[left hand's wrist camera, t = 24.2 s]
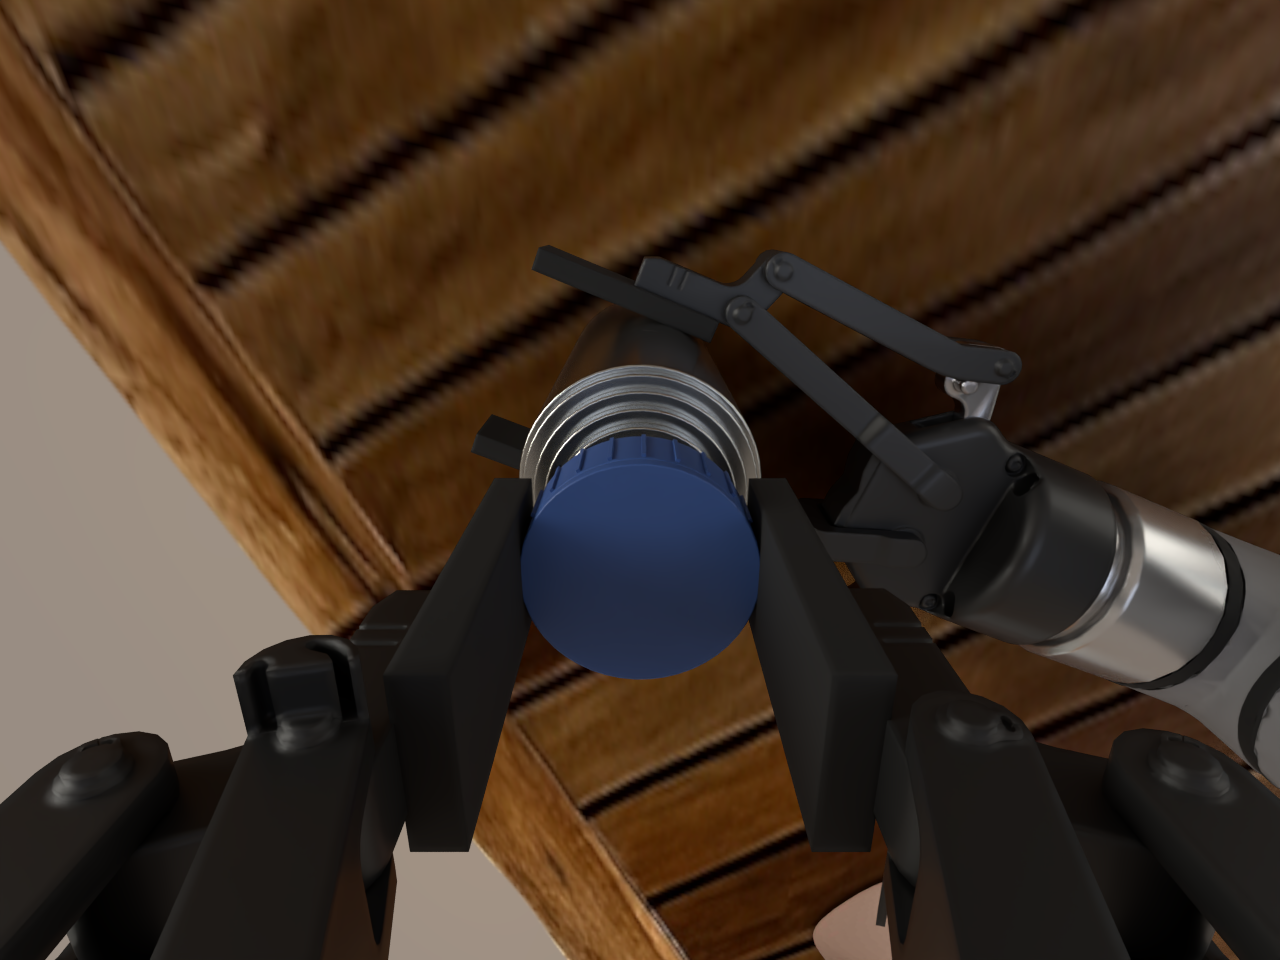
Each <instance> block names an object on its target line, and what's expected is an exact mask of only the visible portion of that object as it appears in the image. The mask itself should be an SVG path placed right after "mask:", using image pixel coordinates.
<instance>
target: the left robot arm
mask: <svg viewBox="0 0 1280 960" xmlns="http://www.w3.org/2000/svg"><path fill="white" fill-rule="evenodd" d="M747 507H748V510H749V512H750V515H751V518H752V520H753V522H752V523H750V524H751V526H752V529H753V532H754V535H755V537H756V540H757V543H758V547H759V551H760V568H759V583H758V596H757V602H756V605H755V607H754V610H753V612H752V614H751V616H750V618H749V623H750V627H751V630H752V634H753V638H754V641H755V645H756V649H757V652H758V656H759V660H760V663H761V667H762V671H763V674H764V678H765V682H766V685H767V689H768V693H769V696H770V700H771V704H772V707H773V711H774V715H775V718H776V722H777V726H778V729H779V733H780V737H781V740H782V744H783V748H784V751H785V755H786V759H787V762H788V766H789V770H790V773H791V777H792V781H793V784H794V788H795V792H796V796H797V799H798V803H799V807H800V810H801V814H802V818H803V821H804V825H805V829H806V832H807V836H808V840H809V843H810V847H811V851H812V852H870V851H871V844H872V838H873V832H874V825H875V819H876V820H877V823H878V825H879V828H880V830H881V833H882V835H883V838H884V840H885V843H886V845H887V848H888V851H887V857H886V863H885V869H884V875H883V881H882V887H881V893H880V899H879V905H878V911H877V919H876V925H877V926H882V927H885V924H886V918H887V919H888V928H889V937H890V945H891V954H892V960H1229V959H1228V958H1227V957H1226V956H1225V955H1224V954H1223V953H1222V952H1221V950H1220V949H1219V948H1218V947H1217V946H1216V944H1215V943H1214V942H1213V941H1212V937H1213V935H1214V932H1215V930H1216V932H1217V933H1218V934H1219V935H1220V936H1221V938H1222V939H1223V940H1224V941H1225V942H1226V944H1227V945H1228V946H1229V947H1230V948H1231V950H1232V951H1233V952H1234V953H1235V955H1236V956H1237V957H1238V958H1239V959H1240V960H1280V799H1279V798H1278V797H1277V796H1276V795H1274V794H1273V793H1272V792H1271V791H1270V790H1269V789H1268V788H1266V787H1265V786H1264V785H1263V784H1262V783H1261V782H1260V781H1259V780H1257V779H1256V778H1255V777H1254V776H1253V775H1252V774H1251V773H1250V772H1248V771H1247V770H1246V769H1245V768H1243V767H1242V766H1240V765H1239V764H1238V763H1236V762H1235V761H1233V760H1232V759H1231V758H1229V757H1228V756H1226V755H1225V754H1224V753H1222V752H1220V751H1218V750H1216V749H1213V748H1211V747H1209V746H1207V745H1205V744H1203V743H1201V742H1200V741H1198V740H1195V739H1192V738H1190V737H1187V736H1182V735H1180V734H1176V733H1172V732H1169V731H1161V730H1153V729H1144V728H1142V729H1136V730H1131V731H1125V732H1123V733H1122V734H1121V735H1120V736H1118V737H1117V738H1116V739H1115V740H1114V742H1113V745H1112V748H1111V752H1110V755H1109V758H1108V759H1107V758H1102V757H1098V756H1093V755H1088V754H1084V753H1079V752H1074V751H1070V750H1065V749H1060V748H1056V747H1052V746H1049V745H1045V744H1042V743H1038V742H1035V740H1034V738H1033V735H1032V734H1031V732H1030V731H1029V730H1028V728H1027V727H1026V725H1025V724H1024V723H1023V721H1022V720H1021V719H1020V718H1018V717H1017V716H1016V715H1014V714H1013V713H1012V712H1010V711H1009V710H1008V709H1006V708H1005V707H1004V706H1002V705H999V704H997V703H995V702H993V701H991V700H989V699H986V698H984V697H982V696H978V695H974V694H970V692H969V691H968V689H967V688H966V686H965V685H964V684H963V682H962V681H961V679H960V678H959V676H958V675H957V674H956V672H955V671H954V669H953V668H952V666H951V665H950V664H949V662H948V661H947V659H946V658H945V657H944V655H943V654H942V652H941V651H940V649H939V648H938V647H937V645H936V644H935V643H933V642H932V638H931V637H930V635H929V634H928V632H927V631H926V629H925V628H924V627H921V622H920V621H919V619H918V618H917V617H916V615H915V614H914V612H913V611H912V609H911V608H910V607H909V605H908V604H907V603H905V602H904V601H902V600H901V599H899V598H898V597H896V596H895V595H893V594H892V593H890V592H889V591H887V590H886V589H884V588H848V587H847V585H846V583H845V582H844V580H843V578H842V576H841V575H840V573H839V571H838V569H837V567H836V566H835V564H834V562H833V560H832V559H831V557H830V555H829V553H828V552H827V550H826V548H825V546H824V545H823V543H822V541H821V539H820V538H819V536H818V534H817V532H816V531H815V529H814V527H813V525H812V524H811V522H810V520H809V518H808V517H807V515H806V513H805V511H804V509H803V508H802V506H801V504H800V502H799V501H798V499H797V497H796V495H795V494H794V492H793V490H792V488H791V487H790V485H789V483H788V481H787V480H786V478H749V483H748V500H747ZM532 510H533V492H532V478H495V479H494V480H493V482H492V484H491V486H490V487H489V489H488V491H487V493H486V494H485V496H484V498H483V500H482V502H481V503H480V505H479V507H478V509H477V510H476V512H475V514H474V516H473V517H472V519H471V521H470V523H469V524H468V526H467V528H466V530H465V531H464V533H463V535H462V537H461V538H460V540H459V542H458V544H457V545H456V547H455V549H454V551H453V553H452V554H451V556H450V558H449V560H448V561H447V563H446V565H445V567H444V568H443V570H442V572H441V574H440V575H439V577H438V579H437V581H436V582H435V584H434V586H433V588H432V589H431V590H397V591H395V592H394V593H392V594H391V595H389V596H388V597H386V598H385V599H383V600H382V601H380V602H379V603H378V604H376V605H375V606H373V607H372V609H371V610H370V612H369V613H368V614H367V616H366V617H365V619H364V620H363V622H362V623H361V624H360V629H357V630H356V632H355V633H354V635H353V636H352V637H351V639H350V640H349V639H345V638H342V637H338V636H334V635H309V636H304V637H300V638H295V639H290V640H286V641H283V642H281V643H278V644H276V645H273V646H271V647H268V648H266V649H263V650H262V651H260V652H259V653H257V654H256V655H254V656H253V657H251V658H249V659H248V660H247V661H245V662H244V663H243V664H242V665H241V667H240V668H239V669H238V670H237V671H236V672H235V674H234V675H233V678H234V682H235V686H236V690H237V694H238V698H239V702H240V706H241V710H242V714H243V718H244V722H245V726H246V730H247V734H248V736H247V739H246V741H245V743H244V745H243V746H239V747H235V748H232V749H228V750H225V751H220V752H215V753H211V754H206V755H202V756H197V757H192V758H188V759H183V760H178V761H174V762H173V760H172V756H171V753H170V750H169V747H168V744H167V743H166V742H165V741H164V740H163V739H162V738H161V737H160V736H158V735H156V734H151V733H145V732H139V731H138V732H129V733H120V734H113V735H110V736H106V737H102V738H100V739H95V740H92V741H90V742H87V743H84V744H82V745H81V746H79V747H77V748H75V749H73V750H70V751H69V752H66V753H64V754H62V755H60V756H58V757H57V758H56V759H54V760H53V761H51V762H50V763H49V764H47V765H46V766H44V767H43V768H42V769H40V770H39V771H38V772H36V773H35V774H34V775H33V776H31V777H30V778H29V779H28V780H27V781H26V782H25V783H24V784H22V785H21V786H20V787H19V788H18V789H17V790H16V791H15V792H14V793H12V794H11V795H10V796H9V797H8V798H7V799H6V800H5V801H3V802H2V803H1V804H0V960H45V959H46V958H47V957H48V956H49V954H50V953H51V952H52V951H53V950H54V948H55V947H56V946H57V945H58V944H59V942H60V941H61V940H62V939H63V937H64V936H65V935H66V934H67V936H68V938H69V941H70V943H69V944H68V945H67V947H66V948H65V949H64V950H63V952H62V953H61V954H60V955H59V957H58V958H56V959H55V960H388V956H389V947H390V938H391V929H392V920H393V912H394V903H395V894H396V885H397V878H396V870H395V863H394V857H393V850H394V848H395V845H396V842H397V840H398V837H399V835H400V832H401V830H402V827H403V825H404V822H406V829H407V835H408V841H409V848H410V852H469V849H470V845H471V841H472V838H473V834H474V830H475V827H476V823H477V819H478V816H479V812H480V808H481V805H482V801H483V797H484V794H485V790H486V786H487V782H488V779H489V775H490V771H491V768H492V764H493V760H494V757H495V753H496V749H497V746H498V742H499V738H500V735H501V731H502V727H503V724H504V720H505V716H506V713H507V709H508V705H509V702H510V698H511V694H512V691H513V687H514V683H515V680H516V676H517V672H518V669H519V665H520V661H521V658H522V654H523V650H524V647H525V643H526V639H527V636H528V632H529V628H530V625H531V621H532V618H531V617H530V615H529V613H528V611H527V608H526V605H525V603H524V600H523V591H522V576H521V560H520V555H521V550H522V546H523V541H524V538H525V536H526V533H527V530H528V527H529V525H530V522H531V519H532V517H531V513H532Z"/></svg>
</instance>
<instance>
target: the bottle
mask: <svg viewBox="0 0 1280 960" xmlns="http://www.w3.org/2000/svg"><path fill="white" fill-rule="evenodd" d="M642 434H646V436H648V437H656V438H663V439H667V440H671V441H673V439H676V440H677V441H678V443H681V444H683V445H686V446H688V447H691V448H692V449H694V450H696V451H698V452H700V453H701V452H702V451H703V452H704V453H706V457H707V458H709V459H710V460H711V461H713V462H714V463H715V464H716V465H717V466H718V467H719V468H720V469H721V470H722V471H723V472H725V471H727V472H728V474H729V476H730V479H731V482H732V483H733V485H734V486H735V488H736V490H737V491H738V493H739V495H743V497H744V499H745V502H746V504H747V500H748V483H749V478H761V465H760V457H759V453H758V449H757V445H756V442H755V440H754V437H753V435H752V432H751V430H750V428H749V426H748V424H747V423H746V421H745V419H744V417H743V415H742V413H741V411H740V409H739V408H738V406H737V404H736V402H735V400H734V398H733V396H732V394H731V393H730V391H729V389H728V387H727V385H726V383H725V381H724V379H723V378H722V376H721V374H720V372H719V370H718V368H717V366H716V364H715V363H714V361H713V359H712V357H711V355H710V353H709V351H708V350H707V348H706V346H705V344H704V342H703V340H701V339H699V338H697V337H694V336H692V335H689V334H687V333H684V332H682V331H680V330H677V329H675V328H672V327H670V326H667V325H665V324H663V323H660V322H658V321H655V320H653V319H650V318H648V317H646V316H643V315H641V314H638V313H636V312H633V311H631V310H629V309H626V308H624V307H621V306H619V305H616V304H614V305H612V306H609V307H607V308H606V309H604V310H603V311H601V312H600V313H599V314H597V315H596V316H595V317H594V318H593V319H592V320H591V321H590V322H589V323H588V324H587V326H586V327H585V329H584V330H583V332H582V333H581V335H580V337H579V339H578V341H577V343H576V345H575V347H574V349H573V350H572V352H571V354H570V356H569V358H568V360H567V362H566V364H565V365H564V367H563V369H562V371H561V373H560V375H559V377H558V379H557V380H556V382H555V384H554V386H553V388H552V390H551V392H550V394H549V396H548V397H547V399H546V401H545V403H544V405H543V407H542V409H541V411H540V412H539V414H538V416H537V418H536V420H535V422H534V424H533V426H532V428H531V430H530V432H529V434H528V436H527V439H526V442H525V444H524V447H523V451H522V456H521V461H520V471H519V478H532V492H533V508H534V505H535V502H536V500H537V497H538V494H539V492H540V490H543V491H544V489H545V487H546V485H547V484H548V483H549V481H550V480H551V479H552V477H553V476H554V474H555V471H556V469H557V467H558V466H560V467H562V466H563V465H564V464H565V463H567V462H568V461H569V460H571V459H572V458H573V457H575V456H576V455H578V454H579V453H580V450H581V449H583V448H584V449H585V450H586V449H588V448H590V447H592V446H595V445H597V444H600V443H602V442H606V441H609V440H610V438H612V437H614V439H617V438H624V437H634V436H642Z"/></svg>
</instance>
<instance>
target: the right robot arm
mask: <svg viewBox="0 0 1280 960" xmlns="http://www.w3.org/2000/svg"><path fill="white" fill-rule="evenodd" d="M532 270H534V271H536V272H539V273H541V274H544V275H546V276H548V277H551V278H553V279H556V280H558V281H561V282H563V283H565V284H568V285H570V286H573V287H575V288H578V289H580V290H582V291H585V292H587V293H590V294H592V295H595V296H597V297H599V298H602V299H604V300H607V301H609V302H612V303H614V304H616V305H619V306H621V307H624V308H626V309H629V310H631V311H633V312H636V313H638V314H641V315H643V316H646V317H648V318H650V319H653V320H655V321H658V322H660V323H663V324H665V325H667V326H670V327H672V328H675V329H677V330H680V331H682V332H684V333H687V334H689V335H692V336H694V337H697V338H699V339H701V340H704V341H706V342H709V343H710V342H711V340H712V337H713V335H714V333H715V331H716V328H717V326H718V324H719V323H722V324H724V325H727V326H729V327H731V328H732V329H733V330H734V331H735V332H736V333H738V334H739V335H740V336H741V337H742V338H743V339H744V340H745V341H747V342H748V343H749V344H750V345H751V346H752V347H753V348H755V349H756V350H757V351H758V352H759V353H760V354H761V355H762V356H764V357H765V358H766V359H767V360H768V361H769V362H770V363H772V364H773V365H774V366H775V367H776V368H777V369H778V370H779V371H781V372H782V373H783V374H784V375H785V376H786V377H787V378H788V379H790V380H791V381H792V382H793V383H794V384H795V385H796V386H798V387H799V388H800V389H801V390H802V391H803V392H804V393H805V394H807V395H808V396H809V397H810V398H811V399H812V400H813V401H814V402H816V403H817V404H818V405H819V406H820V407H821V408H822V409H824V410H825V411H826V412H827V413H828V414H829V415H830V416H831V417H833V418H834V419H835V420H836V421H837V422H838V423H839V424H840V425H842V426H843V427H844V428H845V429H846V430H847V431H848V432H850V433H851V434H852V435H853V436H854V437H855V438H856V441H855V443H854V445H853V447H852V449H851V451H850V452H849V454H848V458H847V462H846V466H845V470H844V473H843V475H842V476H841V477H840V478H839V480H838V481H837V482H836V483H835V484H834V485H833V486H832V487H831V488H830V490H829V492H828V493H827V495H826V497H825V499H812V498H801V499H798V501H799V502H800V504H801V506H802V508H803V509H804V511H805V513H806V515H807V517H808V518H809V520H810V522H811V524H812V525H813V527H814V529H815V531H816V532H817V534H818V536H819V538H820V539H821V541H822V543H823V545H824V546H825V548H826V550H827V552H828V553H829V555H830V557H831V559H832V560H833V561H838V562H845V564H846V565H847V567H848V569H849V570H850V572H851V574H852V575H853V577H854V579H855V582H854V583H852V584H851V585H849V586H847V587H848V588H884V589H886V590H887V591H889V592H890V593H892V594H893V595H895V596H896V597H898V598H899V599H901V600H902V601H904V602H905V603H907V604H908V605H909V607H916V608H919V609H922V610H924V611H926V612H928V613H930V614H933V615H935V616H937V617H939V618H942V619H944V620H947V621H950V622H953V623H955V624H958V625H961V626H963V627H966V628H969V629H971V630H974V631H977V632H979V633H982V634H985V635H988V636H990V637H993V638H996V639H998V640H1001V641H1004V642H1007V643H1010V644H1017V645H1019V646H1021V647H1022V648H1024V649H1025V650H1027V651H1029V652H1032V653H1035V654H1037V655H1040V656H1043V657H1046V658H1049V659H1051V660H1054V661H1057V662H1060V663H1063V664H1066V665H1068V666H1071V667H1074V668H1077V669H1080V670H1082V671H1085V672H1088V673H1091V674H1094V675H1096V676H1099V677H1102V678H1105V679H1107V680H1109V681H1111V682H1114V683H1117V684H1119V685H1122V686H1126V687H1129V688H1132V689H1134V690H1137V691H1139V692H1142V693H1144V694H1147V695H1149V696H1152V697H1154V698H1157V699H1160V700H1162V701H1165V702H1167V703H1170V704H1172V705H1175V706H1177V707H1178V708H1180V709H1182V710H1184V711H1186V712H1187V713H1189V714H1190V715H1192V716H1193V717H1195V718H1196V719H1198V720H1199V721H1200V722H1201V723H1202V724H1204V725H1205V726H1206V727H1207V728H1208V729H1209V730H1210V731H1211V732H1213V733H1214V734H1215V735H1216V736H1217V737H1218V738H1219V739H1220V740H1222V741H1223V742H1224V743H1225V744H1226V745H1227V746H1228V747H1229V748H1231V749H1232V750H1233V751H1234V752H1235V753H1236V754H1237V755H1238V756H1239V757H1241V758H1242V759H1243V760H1244V761H1245V762H1246V763H1247V764H1248V765H1250V766H1251V767H1252V768H1253V769H1254V770H1255V771H1256V772H1258V773H1260V774H1262V775H1263V776H1264V777H1265V778H1266V779H1267V780H1268V781H1269V782H1270V783H1272V784H1273V785H1274V786H1276V787H1277V788H1279V789H1280V555H1278V554H1276V553H1273V552H1271V551H1268V550H1265V549H1263V548H1260V547H1258V546H1255V545H1252V544H1250V543H1247V542H1245V541H1242V540H1239V539H1237V538H1234V537H1232V536H1229V535H1227V534H1224V533H1222V532H1219V531H1217V530H1214V529H1212V528H1210V527H1208V526H1206V525H1204V524H1203V523H1200V522H1198V521H1196V520H1194V519H1192V518H1189V517H1187V516H1185V515H1182V514H1180V513H1178V512H1175V511H1173V510H1170V509H1168V508H1166V507H1163V506H1161V505H1159V504H1156V503H1154V502H1152V501H1149V500H1147V499H1144V498H1142V497H1140V496H1137V495H1135V494H1133V493H1130V492H1128V491H1126V490H1123V489H1121V488H1119V487H1116V486H1114V485H1111V484H1108V483H1105V482H1103V481H1096V480H1095V479H1094V478H1092V477H1091V476H1089V475H1087V474H1085V473H1083V472H1081V471H1078V470H1076V469H1073V468H1071V467H1069V466H1066V465H1064V464H1061V463H1059V462H1057V461H1054V460H1052V459H1049V458H1047V457H1045V456H1042V455H1040V454H1037V453H1035V452H1033V451H1030V450H1028V449H1026V448H1023V447H1021V446H1018V445H1016V444H1014V443H1011V442H1009V441H1007V440H1006V439H1005V438H1004V436H1003V435H1002V434H1001V432H1000V430H999V429H998V427H997V426H996V425H995V424H994V423H993V422H991V421H990V419H991V415H992V412H993V409H994V405H995V402H996V399H997V395H998V392H999V388H1000V385H1003V384H1008V383H1010V382H1012V381H1013V380H1014V379H1016V378H1017V377H1018V375H1019V373H1020V371H1021V367H1022V362H1021V359H1020V357H1019V356H1018V355H1017V354H1016V353H1014V352H1011V351H1008V350H1005V349H1003V348H1000V347H997V346H994V345H991V344H988V343H985V342H982V341H979V340H973V339H964V338H955V337H946V336H944V335H942V334H940V333H938V332H936V331H934V330H933V329H931V328H929V327H927V326H925V325H923V324H921V323H920V322H918V321H916V320H914V319H912V318H910V317H908V316H907V315H905V314H903V313H901V312H899V311H897V310H895V309H894V308H892V307H890V306H888V305H886V304H884V303H883V302H881V301H879V300H877V299H875V298H873V297H871V296H870V295H868V294H866V293H864V292H862V291H860V290H858V289H857V288H855V287H853V286H851V285H849V284H847V283H845V282H844V281H842V280H840V279H838V278H836V277H834V276H832V275H831V274H829V273H827V272H825V271H823V270H821V269H819V268H818V267H816V266H814V265H812V264H810V263H808V262H806V261H805V260H803V259H801V258H799V257H797V256H795V255H793V254H791V253H787V252H783V251H778V250H766V251H765V252H763V253H761V254H760V255H759V257H758V258H757V259H756V262H755V264H754V265H753V266H752V267H751V268H750V269H749V270H748V271H747V272H746V273H745V275H744V276H743V277H741V278H740V279H739V280H737V281H735V282H732V283H721V282H718V281H715V280H713V279H711V278H708V277H706V276H704V275H701V274H699V273H697V272H694V271H692V270H690V269H687V268H685V267H683V266H680V265H678V264H675V263H673V262H671V261H668V260H666V259H664V258H661V257H644V259H643V262H642V264H641V267H640V269H639V272H638V274H637V277H636V280H635V281H634V280H631V279H629V278H627V277H624V276H622V275H619V274H617V273H615V272H612V271H610V270H608V269H605V268H603V267H600V266H598V265H596V264H593V263H591V262H588V261H586V260H584V259H581V258H579V257H576V256H574V255H572V254H569V253H567V252H564V251H562V250H560V249H557V248H555V247H553V246H550V245H547V246H543V247H539V249H538V252H537V255H536V258H535V261H534V264H533V267H532ZM782 293H785V294H786V295H788V296H790V297H792V298H794V299H796V300H798V301H800V302H802V303H803V304H805V305H807V306H809V307H811V308H813V309H815V310H817V311H819V312H821V313H822V314H824V315H826V316H828V317H830V318H832V319H834V320H836V321H838V322H839V323H841V324H843V325H845V326H847V327H849V328H851V329H853V330H855V331H857V332H858V333H860V334H862V335H864V336H866V337H868V338H870V339H872V340H874V341H875V342H877V343H879V344H881V345H883V346H885V347H887V348H889V349H891V350H893V351H894V352H896V353H898V354H900V355H902V356H904V357H906V358H908V359H910V360H912V361H914V362H916V363H918V364H920V365H922V366H924V367H926V368H928V369H930V370H932V371H934V372H936V375H935V384H936V386H937V388H938V389H939V390H940V391H942V392H943V393H945V394H947V395H949V396H951V397H952V398H953V400H954V403H955V410H954V411H950V412H945V413H941V414H937V415H932V416H928V417H924V418H920V419H915V420H911V421H907V422H903V423H898V424H894V425H893V424H892V423H890V422H889V421H888V420H887V419H886V418H885V417H883V416H882V415H881V414H880V413H879V412H878V411H877V410H876V409H874V408H873V407H872V406H871V405H870V404H869V403H868V402H867V401H866V400H864V399H863V398H862V397H861V396H860V395H859V394H858V393H857V392H856V391H855V390H853V389H852V388H851V387H850V386H849V385H848V384H847V383H846V382H845V381H844V380H842V379H841V378H840V377H839V376H838V375H837V374H836V373H835V372H834V371H832V370H831V369H830V368H829V367H828V366H827V365H826V364H825V363H824V362H823V361H821V360H820V359H819V358H818V357H817V356H816V355H815V354H814V353H813V352H812V351H810V350H809V349H808V348H807V347H806V346H805V345H804V344H803V343H802V342H800V341H799V340H798V339H797V338H796V337H795V336H794V335H793V334H792V333H791V332H789V331H788V330H787V329H786V328H785V327H784V326H783V325H782V324H781V323H780V322H778V321H777V320H776V319H775V318H774V317H773V316H772V315H771V314H770V313H768V312H767V311H766V310H767V309H768V308H769V307H770V306H771V305H772V304H773V303H774V302H775V301H776V300H777V298H778V297H779V296H780V295H781V294H782ZM530 430H531V429H530V428H527V427H524V426H522V425H519V424H516V423H514V422H511V421H509V420H506V419H503V418H501V417H498V416H495V415H493V414H492V415H491V416H490V417H489V419H488V420H487V421H486V423H485V424H484V425H483V426H482V428H481V429H480V430H479V432H478V433H477V435H476V438H475V441H474V444H473V447H472V450H471V452H472V453H475V454H478V455H480V456H483V457H486V458H489V459H491V460H494V461H497V462H499V463H502V464H505V465H508V466H510V467H513V468H516V469H518V470H520V461H521V456H522V451H523V447H524V444H525V442H526V439H527V436H528V434H529V432H530Z"/></svg>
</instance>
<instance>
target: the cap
mask: <svg viewBox="0 0 1280 960" xmlns="http://www.w3.org/2000/svg"><path fill="white" fill-rule="evenodd" d="M531 517H532V519H531V522H530V525H529V527H528V530H527V533H526V536H525V538H524V541H523V546H522V550H521V555H520V560H521V576H522V591H523V600H524V603H525V605H526V608H527V611H528V613H529V615H530V617H531V618H532V620H533V622H534V624H535V626H536V627H537V628H538V630H539V631H540V632H541V634H542V635H543V636H544V638H545V639H546V640H547V641H548V642H549V643H550V644H551V645H552V646H553V647H554V648H556V649H557V650H558V651H559V652H561V653H562V654H563V655H564V656H566V657H567V658H569V659H571V660H572V661H574V662H575V663H577V664H579V665H581V666H583V667H585V668H588V669H590V670H592V671H595V672H598V673H601V674H604V675H609V676H613V677H618V678H627V679H654V678H662V677H667V676H672V675H676V674H680V673H682V672H685V671H688V670H691V669H693V668H695V667H697V666H699V665H701V664H703V663H705V662H707V661H709V660H710V659H712V658H713V657H715V656H716V655H718V654H719V653H720V652H721V651H723V650H724V649H725V648H726V647H727V646H728V645H729V644H730V643H731V642H732V641H733V640H734V639H735V638H736V637H737V636H738V635H739V633H740V632H741V630H742V629H743V628H744V626H745V625H746V623H747V622H748V620H749V618H750V616H751V614H752V612H753V610H754V607H755V605H756V602H757V596H758V583H759V568H760V551H759V547H758V543H757V540H756V537H755V535H754V532H753V529H752V526H751V524H750V523H752V522H753V520H752V518H751V515H750V512H749V510H748V507H747V504H746V502H745V499H744V497H743V495H739V493H738V491H737V490H736V488H735V486H734V485H733V483H732V482H731V479H730V476H729V474H728V472H727V471H725V472H723V471H722V470H721V469H720V468H719V467H718V466H717V465H716V464H715V463H714V462H713V461H711V460H710V459H709V458H707V457H706V453H704V452H703V451H702V452H701V453H700V452H698V451H696V450H694V449H692V448H691V447H688V446H686V445H683V444H681V443H678V441H677V440H676V439H673V441H671V440H667V439H663V438H656V437H648V436H646V434H642V436H634V437H624V438H617V439H614V437H612V438H610V440H609V441H606V442H602V443H600V444H597V445H595V446H592V447H590V448H588V449H586V450H585V449H584V448H583V449H581V450H580V453H579V454H578V455H576V456H575V457H573V458H572V459H571V460H569V461H568V462H567V463H565V464H564V465H563V466H562V467H560V466H558V467H557V469H556V471H555V474H554V476H553V477H552V479H551V480H550V481H549V483H548V484H547V485H546V487H545V489H544V491H543V490H540V492H539V494H538V497H537V500H536V502H535V505H534V508H533V510H532V513H531Z"/></svg>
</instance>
